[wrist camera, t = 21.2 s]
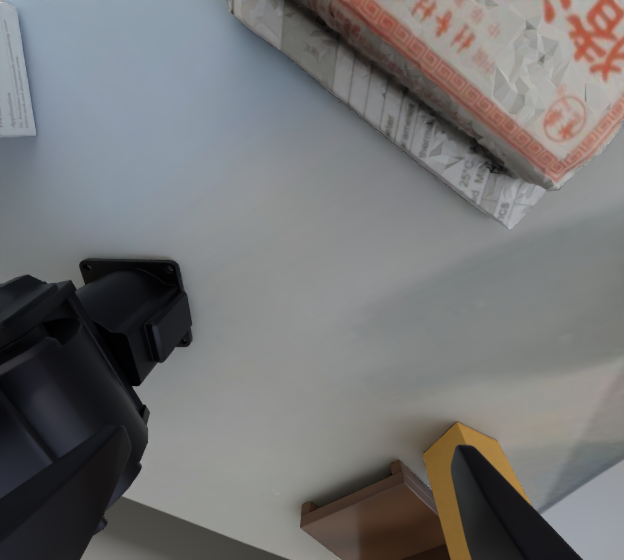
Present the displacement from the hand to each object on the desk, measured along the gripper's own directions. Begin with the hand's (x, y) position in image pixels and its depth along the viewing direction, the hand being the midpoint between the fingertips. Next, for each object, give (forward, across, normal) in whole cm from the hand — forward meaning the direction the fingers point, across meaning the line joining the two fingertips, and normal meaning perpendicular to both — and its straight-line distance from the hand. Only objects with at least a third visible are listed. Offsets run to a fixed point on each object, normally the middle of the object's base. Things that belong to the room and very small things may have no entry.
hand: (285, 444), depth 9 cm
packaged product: (+13, -6, -12) cm, 19 cm away
